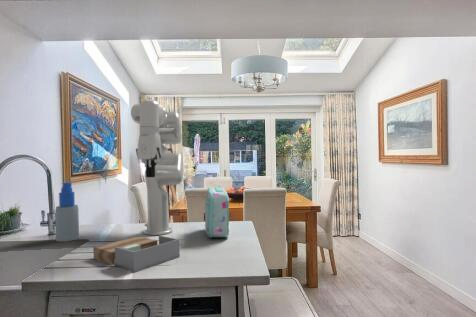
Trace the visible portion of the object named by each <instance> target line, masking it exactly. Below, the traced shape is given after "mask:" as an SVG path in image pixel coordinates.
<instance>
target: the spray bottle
mask: <svg viewBox="0 0 476 317" xmlns="http://www.w3.org/2000/svg"><path fill="white" fill-rule="evenodd" d="M72 183H73V182H61V189H60V192H58V198H59V199H58V201H59V202H58V204H59V205H57V206H55V212H54V213H55V241H56V242H71V241H74V240H78V239H79V238H80V227H79V226H80V225H79V224H80V222H79V220H80V219H79V215H80V214H79V206H78V204H76V203H75V200H76V199H75V198H76V197H75V191H73V187H72Z"/></svg>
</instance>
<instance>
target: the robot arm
mask: <svg viewBox="0 0 476 317" xmlns="http://www.w3.org/2000/svg"><path fill="white" fill-rule="evenodd" d="M179 115H180V114H178V112H177V111H167V110H166V108H165V107H164V106H163V105H162V104H160V103H158V101H155V100H147V99H146V100H142V101H141V102H140V103H136V104H134V105H132V107H131V109H130V116H131V118H132V120H133V122H134V123H135V124H139V136H138V140H137V141H138V142H137V159H139V160H140V163H142V164H144V168H145V171H144V178H145V184H146V194H147V196H146V198H147V200H146V201H147V206H146V208H147V222H146V223H144V227H146V229H145V230H144V235H147V236H163V235H167V234H170V233H172V232H173V228H172V227H170V226H169V224H170V223H169V221H170V220H169V194H168V192H167V191H166V189H165V188H164V187H163V186H176V185H181V183H182V182H183V180H184V157H183V156H182V154H180V153H179V152H170V151H169V149H168V148H167V147H166V146H165V145H178V144H180V143H181V142H182V126H181V124H182V123H181V118H180V116H179Z"/></svg>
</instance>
